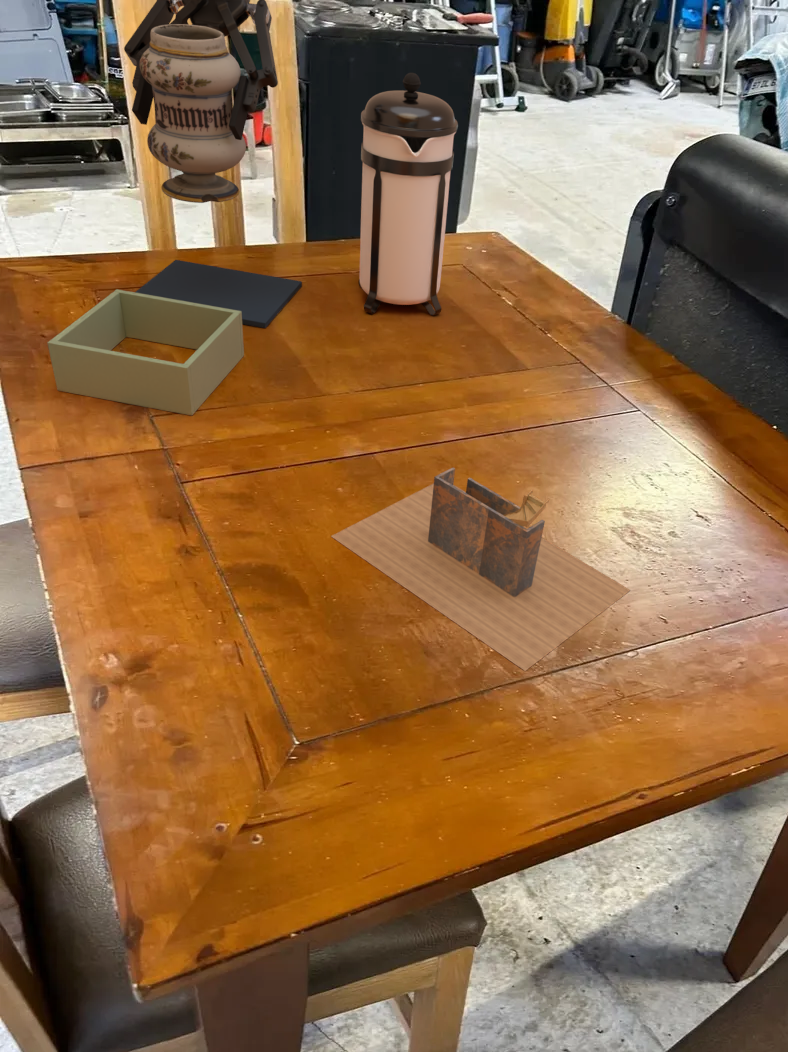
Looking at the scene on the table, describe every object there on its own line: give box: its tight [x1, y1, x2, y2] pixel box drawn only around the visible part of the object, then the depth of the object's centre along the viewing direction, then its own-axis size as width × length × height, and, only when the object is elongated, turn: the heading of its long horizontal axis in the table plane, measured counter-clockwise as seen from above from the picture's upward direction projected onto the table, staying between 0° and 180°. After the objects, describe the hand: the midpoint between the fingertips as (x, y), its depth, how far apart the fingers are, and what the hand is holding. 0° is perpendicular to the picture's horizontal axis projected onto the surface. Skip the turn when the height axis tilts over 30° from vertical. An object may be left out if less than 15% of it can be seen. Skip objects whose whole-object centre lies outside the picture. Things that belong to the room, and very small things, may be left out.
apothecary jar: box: [139, 23, 247, 204], centre depth 110 cm, size 12×12×18 cm
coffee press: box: [358, 72, 459, 317], centre depth 124 cm, size 17×16×30 cm
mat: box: [134, 259, 303, 329], centre depth 128 cm, size 20×16×1 cm
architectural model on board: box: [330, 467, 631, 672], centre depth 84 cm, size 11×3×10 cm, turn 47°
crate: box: [47, 288, 245, 416], centre depth 107 cm, size 17×17×6 cm
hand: (186, 125), depth 109 cm, fingers closed on apothecary jar, 12 cm apart
